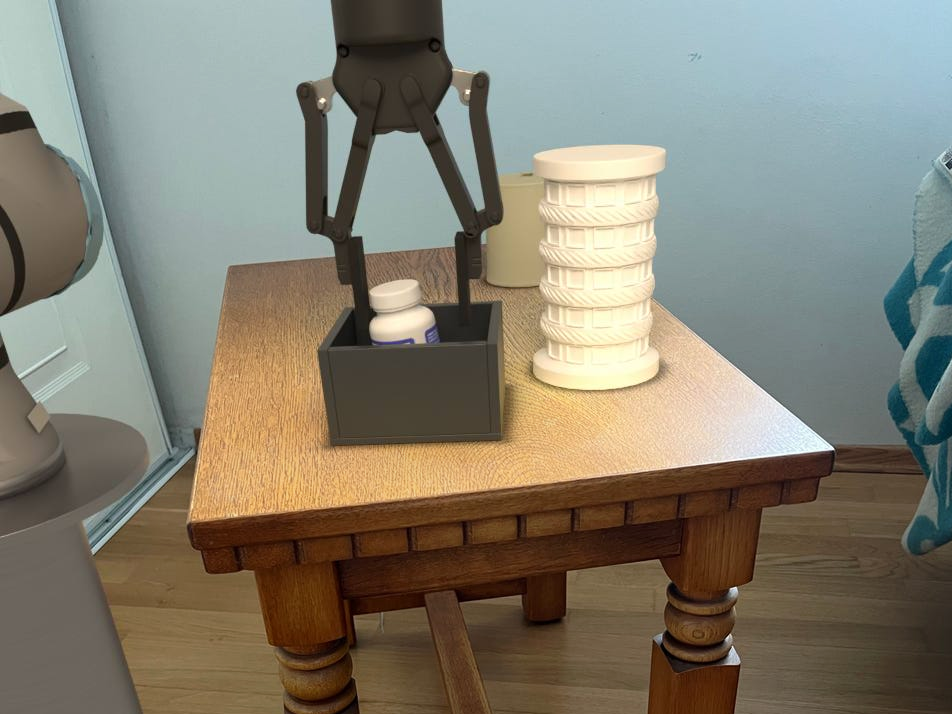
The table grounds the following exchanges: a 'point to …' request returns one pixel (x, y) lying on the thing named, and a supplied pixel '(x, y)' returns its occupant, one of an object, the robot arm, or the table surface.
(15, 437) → the robot arm
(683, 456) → the table surface
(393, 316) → the pill bottle
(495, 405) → the bin
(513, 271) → the can
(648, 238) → the decorative container
